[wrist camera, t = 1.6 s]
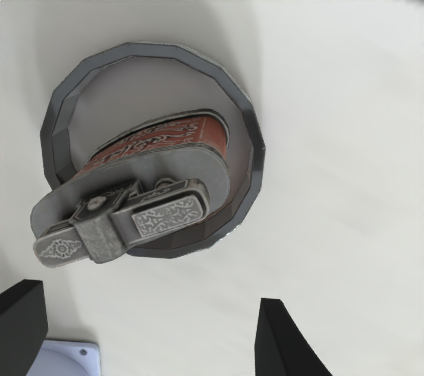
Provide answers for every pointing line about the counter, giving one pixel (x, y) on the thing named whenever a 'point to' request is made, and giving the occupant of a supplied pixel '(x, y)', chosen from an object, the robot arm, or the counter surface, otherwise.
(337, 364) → the counter surface
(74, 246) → the lighter
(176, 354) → the counter surface
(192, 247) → the dark grey ring
